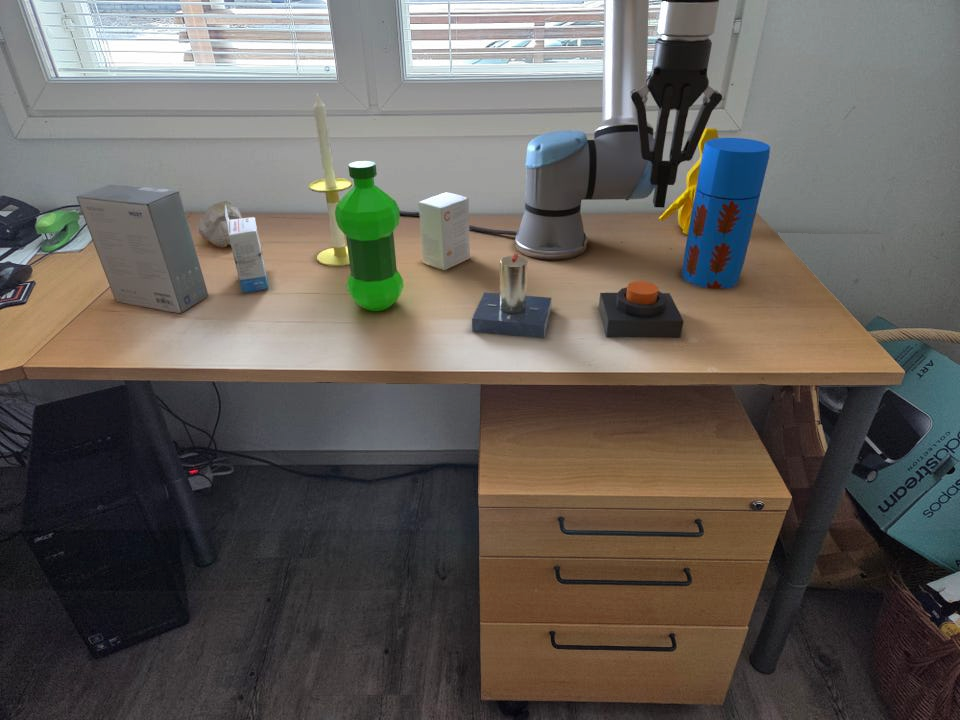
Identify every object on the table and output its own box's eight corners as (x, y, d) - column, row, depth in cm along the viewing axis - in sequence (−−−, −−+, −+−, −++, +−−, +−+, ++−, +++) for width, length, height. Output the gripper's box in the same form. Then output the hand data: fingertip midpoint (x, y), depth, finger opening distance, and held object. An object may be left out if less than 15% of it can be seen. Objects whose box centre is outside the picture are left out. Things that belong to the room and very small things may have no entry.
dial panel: (472, 331, 102) (471, 317, 101) (484, 304, 110) (484, 291, 109) (543, 338, 100) (544, 324, 99) (550, 310, 108) (551, 296, 107)
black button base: (606, 337, 100) (609, 310, 97) (598, 308, 109) (601, 283, 106) (680, 338, 100) (685, 310, 97) (666, 309, 108) (671, 283, 105)
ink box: (269, 290, 116) (253, 214, 108) (242, 294, 115) (223, 218, 107) (266, 272, 123) (251, 200, 115) (240, 276, 122) (223, 203, 114)
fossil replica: (223, 256, 131) (261, 244, 138) (218, 218, 127) (258, 208, 134) (187, 240, 136) (225, 230, 143) (181, 203, 132) (221, 195, 139)
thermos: (743, 291, 114) (776, 153, 100) (683, 287, 115) (708, 151, 102) (734, 268, 123) (764, 138, 109) (679, 264, 124) (702, 136, 111)
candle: (306, 262, 127) (277, 93, 110) (334, 245, 135) (310, 85, 117) (348, 269, 124) (324, 97, 106) (373, 251, 132) (355, 88, 114)
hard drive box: (210, 296, 114) (181, 190, 103) (181, 315, 108) (147, 204, 97) (144, 285, 119) (110, 182, 108) (113, 302, 113) (73, 195, 102)
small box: (448, 251, 131) (446, 191, 124) (470, 258, 128) (469, 197, 121) (421, 263, 126) (417, 201, 119) (444, 271, 123) (441, 207, 116)
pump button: (628, 305, 100) (630, 294, 99) (623, 291, 104) (625, 280, 103) (659, 305, 99) (661, 294, 98) (653, 291, 104) (655, 280, 103)
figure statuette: (658, 236, 137) (673, 134, 126) (652, 224, 144) (666, 126, 132) (739, 237, 136) (762, 134, 124) (729, 225, 143) (751, 126, 131)
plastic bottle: (360, 323, 105) (340, 176, 92) (342, 298, 113) (322, 160, 99) (414, 310, 109) (403, 167, 95) (393, 287, 117) (380, 152, 103)
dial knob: (523, 314, 102) (525, 265, 97) (497, 312, 102) (497, 263, 98) (527, 302, 105) (529, 254, 101) (502, 300, 106) (503, 252, 101)
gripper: (727, 34, 86) (696, 198, 99) (633, 34, 88) (615, 195, 101) (739, 40, 80) (705, 214, 93) (638, 40, 82) (618, 211, 95)
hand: (658, 204), depth 97 cm, fingers closed
